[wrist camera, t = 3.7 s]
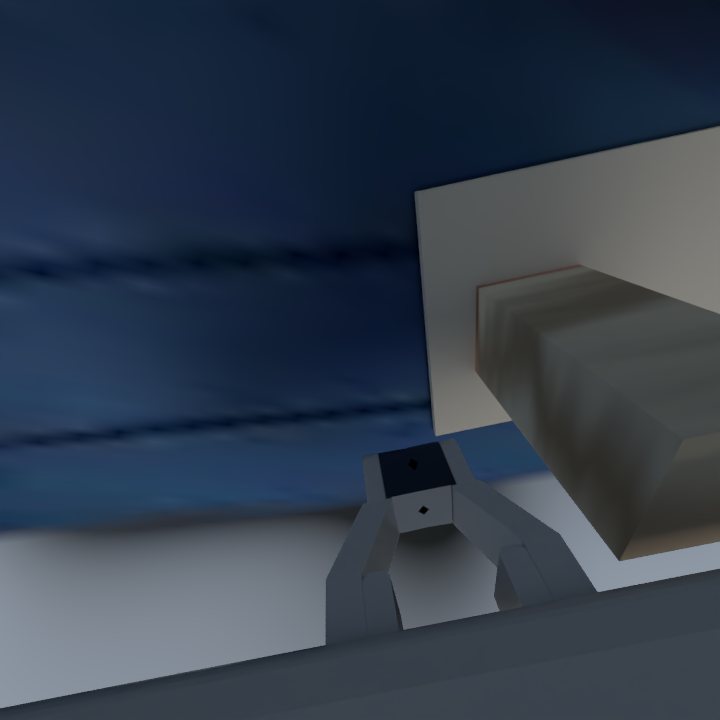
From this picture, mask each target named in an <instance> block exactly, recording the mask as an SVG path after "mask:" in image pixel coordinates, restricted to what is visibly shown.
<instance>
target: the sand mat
mask: <svg viewBox="0 0 720 720" xmlns="http://www.w3.org/2000/svg"><path fill="white" fill-rule="evenodd" d="M414 193H415V206H416V218H417V231H418V243H419V256H420V268H421V281H422V294H423V306H424V319H425V331H426V344H427V356H428V369H429V381H430V394H431V407H432V419H433V431H434V433H435V435H436V436H438V435H443V434H448V433H453V432H458V431H463V430H468V429H473V428H478V427H483V426H487V425H492V424H497V423H502V422H507V421H512V419H511V418H510V417H509V415H508V414H507V413H506V411H505V410H504V409H503V407H502V406H501V405H500V403H499V402H498V401H497V399H496V398H495V397H494V395H493V394H492V393H491V392H490V390H489V389H488V388H487V386H486V385H485V384H484V382H483V381H482V380H481V378H480V377H479V376H478V374H477V373H476V372H475V343H476V286H480V285H485V284H490V283H494V282H499V281H504V280H509V279H513V278H518V277H523V276H527V275H532V274H537V273H542V272H546V271H551V270H556V269H561V268H565V267H570V266H575V265H583V266H585V267H588V268H591V269H594V270H597V271H600V272H602V273H605V274H608V275H611V276H614V277H616V278H619V279H622V280H625V281H628V282H631V283H633V284H636V285H639V286H642V287H645V288H648V289H650V290H653V291H656V292H659V293H662V294H665V295H667V296H670V297H673V298H676V299H679V300H682V301H684V302H687V303H690V304H693V305H696V306H698V307H701V308H704V309H707V310H710V311H713V312H715V313H718V314H720V126H716V127H711V128H707V129H702V130H697V131H693V132H688V133H684V134H679V135H674V136H670V137H665V138H661V139H656V140H651V141H647V142H642V143H637V144H633V145H628V146H624V147H619V148H614V149H610V150H605V151H601V152H596V153H591V154H587V155H582V156H577V157H573V158H568V159H564V160H559V161H554V162H550V163H545V164H540V165H536V166H531V167H527V168H522V169H517V170H513V171H508V172H504V173H499V174H494V175H490V176H485V177H480V178H476V179H471V180H467V181H462V182H457V183H453V184H448V185H444V186H439V187H434V188H430V189H425V190H420V191H416V192H414Z"/></svg>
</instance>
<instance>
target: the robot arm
mask: <svg viewBox="0 0 720 720" xmlns="http://www.w3.org/2000/svg"><path fill="white" fill-rule="evenodd" d="M378 455H379V456H378ZM362 462H363V469H364V477H365V485H366V493H367V501H368V503H364V504H363V505H362V507H361V509H360V511H359V513H358V515H357V517H356V519H355V521H354V523H353V525H352V527H351V529H350V531H349V534H348V536H347V538H346V540H345V542H344V544H343V546H342V548H341V550H340V552H339V554H338V556H337V558H336V560H335V562H334V564H333V566H332V568H331V570H330V572H329V574H328V577H327V579H326V645H324V646H319V647H313V648H309V649H303V650H298V651H293V652H288V653H282V654H277V655H272V656H267V657H262V658H257V659H252V660H246V661H242V662H236V663H231V664H226V665H221V666H215V667H211V668H205V669H200V670H195V671H190V672H185V673H179V674H174V675H169V676H164V677H159V678H154V679H149V680H144V681H139V682H133V683H128V684H123V685H118V686H112V687H107V688H102V689H97V690H93V691H87V692H82V693H77V694H72V695H67V696H61V697H56V698H51V699H46V700H41V701H36V702H31V703H26V704H20V705H16V706H10V707H5V708H0V720H720V569H716V570H711V571H706V572H700V573H695V574H690V575H685V576H680V577H675V578H669V579H665V580H659V581H654V582H649V583H644V584H638V585H633V586H628V587H623V588H618V589H613V590H607V591H602V592H597V591H596V589H595V588H594V586H593V585H592V583H591V581H590V580H589V578H588V577H587V575H586V574H585V572H584V571H583V569H582V568H581V566H580V565H579V563H578V562H577V560H576V558H575V557H574V555H573V554H572V552H571V551H570V549H569V548H568V546H567V545H566V543H565V541H564V540H563V538H562V537H561V535H560V534H559V533H557V532H556V531H554V530H553V529H551V528H550V527H548V526H547V525H545V524H544V523H543V522H541V521H540V520H538V519H537V518H535V517H534V516H532V515H531V514H529V513H528V512H526V511H525V510H524V509H522V508H521V507H519V506H518V505H516V504H515V503H513V502H512V501H510V500H509V499H507V498H506V497H505V496H503V495H502V494H500V493H498V492H497V491H496V490H494V489H493V488H491V487H490V486H488V485H487V484H486V483H484V482H483V481H481V480H478V481H475V478H474V476H473V474H472V472H471V470H470V468H469V466H468V464H467V462H466V460H465V458H464V456H463V454H462V452H461V450H460V448H459V446H458V444H457V442H456V440H455V439H454V438H452V439H447V440H442V441H438V442H437V441H436V442H431V443H427V444H422V445H418V446H413V447H408V448H406V449H400V450H394V451H389V452H383V453H378V454H373V455H367V456H363V460H362ZM449 523H454V525H455V526H456V527H457V528H458V529H459V530H460V531H461V532H462V533H463V534H464V535H465V536H466V537H467V538H468V539H469V540H470V541H471V542H472V543H473V544H474V545H475V546H476V547H477V548H478V549H479V550H480V551H481V552H482V553H483V554H484V555H485V556H486V557H487V558H488V559H489V560H490V561H492V563H494V565H496V566H497V576H496V584H495V592H494V597H495V600H496V602H497V605H498V608H499V610H500V611H499V612H494V613H489V614H484V615H479V616H473V617H468V618H463V619H458V620H453V621H448V622H442V623H437V624H432V625H427V626H422V627H416V628H411V629H407V630H403V625H402V619H401V614H400V610H399V607H398V603H397V600H396V596H395V592H394V589H393V585H392V581H391V578H390V575H389V574H388V571H389V568H390V565H391V562H392V558H393V555H394V552H395V549H396V545H397V542H398V538H399V533H403V532H408V531H412V530H417V529H421V528H425V527H431V526H437V525H443V524H449Z"/></svg>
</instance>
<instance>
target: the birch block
mask: <svg viewBox="0 0 720 720" xmlns="http://www.w3.org/2000/svg"><path fill="white" fill-rule="evenodd" d="M475 372H476V373H477V374H478V376H479V377H480V378H481V380H482V381H483V382H484V384H485V385H486V386H487V388H488V389H489V390H490V392H491V393H492V394H493V395H494V397H495V398H496V399H497V401H498V402H499V403H500V405H501V406H502V407H503V409H504V410H505V411H506V413H507V414H508V415H509V417H510V418H511V419H512V421H513V422H514V423H515V424H516V426H517V427H518V428H519V430H520V431H521V432H522V434H523V435H524V436H525V438H526V439H527V440H528V442H529V443H530V444H531V446H532V447H533V448H534V450H535V451H536V452H537V454H538V455H539V456H540V457H541V459H542V460H543V461H544V463H545V464H546V465H547V467H548V468H549V469H550V471H551V472H552V473H553V475H554V476H555V477H556V479H557V480H558V481H559V483H560V484H561V485H562V486H563V488H564V489H565V490H566V492H567V493H568V494H569V496H570V497H571V498H572V500H573V501H574V502H575V504H576V505H577V506H578V508H579V509H580V510H581V511H582V513H583V514H584V515H585V517H586V518H587V519H588V521H589V522H590V523H591V525H592V526H593V527H594V529H595V530H596V531H597V533H598V534H599V535H600V537H601V538H602V539H603V541H604V542H605V543H606V544H607V546H608V547H609V548H610V550H611V551H612V552H613V554H614V555H615V556H616V558H617V559H618V560H619V561H623V560H627V559H633V558H637V557H643V556H648V555H653V554H658V553H663V552H668V551H674V550H678V549H684V548H689V547H694V546H699V545H704V544H709V543H714V542H719V541H720V314H718V313H715V312H713V311H710V310H707V309H704V308H701V307H698V306H696V305H693V304H690V303H687V302H684V301H682V300H679V299H676V298H673V297H670V296H667V295H665V294H662V293H659V292H656V291H653V290H650V289H648V288H645V287H642V286H639V285H636V284H633V283H631V282H628V281H625V280H622V279H619V278H616V277H614V276H611V275H608V274H605V273H602V272H600V271H597V270H594V269H591V268H588V267H585V266H583V265H575V266H570V267H565V268H561V269H556V270H551V271H546V272H542V273H537V274H532V275H527V276H523V277H518V278H513V279H509V280H504V281H499V282H494V283H490V284H485V285H480V286H476V343H475Z"/></svg>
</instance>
